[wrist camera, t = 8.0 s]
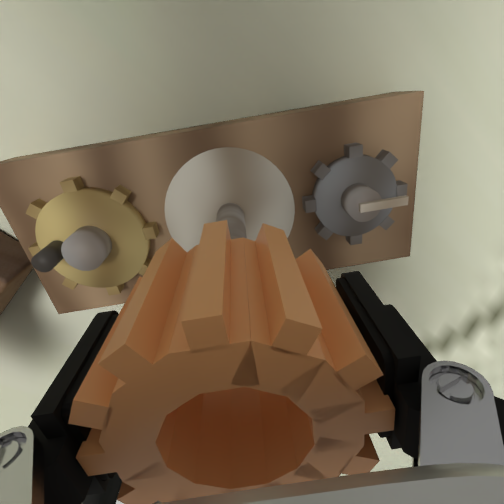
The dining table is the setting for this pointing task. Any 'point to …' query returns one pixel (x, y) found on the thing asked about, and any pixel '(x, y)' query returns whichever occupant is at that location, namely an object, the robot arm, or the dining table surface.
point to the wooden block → (11, 268)
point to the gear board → (218, 193)
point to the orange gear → (230, 375)
